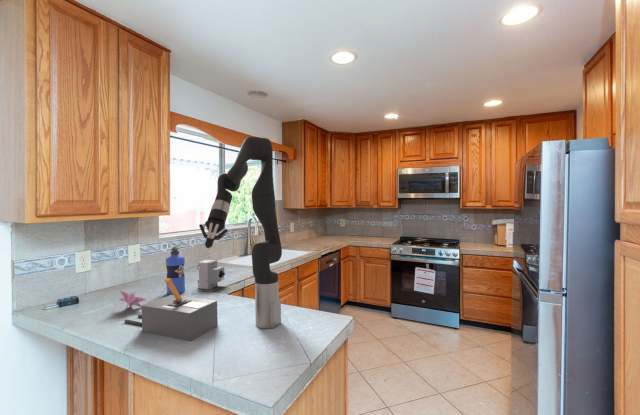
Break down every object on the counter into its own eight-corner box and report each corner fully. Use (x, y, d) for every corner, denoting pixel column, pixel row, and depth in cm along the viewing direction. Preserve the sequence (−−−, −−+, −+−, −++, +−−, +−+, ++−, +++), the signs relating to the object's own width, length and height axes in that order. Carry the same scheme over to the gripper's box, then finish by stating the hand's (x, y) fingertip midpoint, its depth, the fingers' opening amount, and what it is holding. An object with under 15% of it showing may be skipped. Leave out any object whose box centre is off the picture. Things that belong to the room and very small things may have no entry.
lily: (147, 313, 136) (152, 292, 140) (120, 310, 127) (126, 287, 132) (133, 317, 141) (138, 296, 146) (106, 314, 133) (112, 292, 137)
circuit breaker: (220, 289, 168) (219, 263, 168) (197, 288, 171) (197, 262, 170) (227, 285, 175) (226, 260, 175) (205, 284, 178) (204, 259, 178)
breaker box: (217, 325, 118) (217, 297, 118) (190, 341, 105) (189, 309, 105) (147, 313, 133) (146, 288, 132) (115, 326, 120) (114, 297, 119)
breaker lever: (183, 300, 116) (170, 278, 111) (181, 303, 115) (168, 280, 110) (179, 300, 117) (166, 278, 112) (177, 302, 116) (164, 280, 111)
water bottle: (189, 290, 167) (188, 246, 166) (176, 295, 158) (175, 248, 157) (175, 289, 169) (174, 245, 169) (162, 294, 160) (161, 248, 160)
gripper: (203, 205, 131) (190, 241, 123) (233, 211, 133) (222, 247, 124) (205, 212, 138) (193, 247, 129) (234, 218, 139) (224, 253, 131)
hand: (207, 247), depth 127 cm, fingers closed
